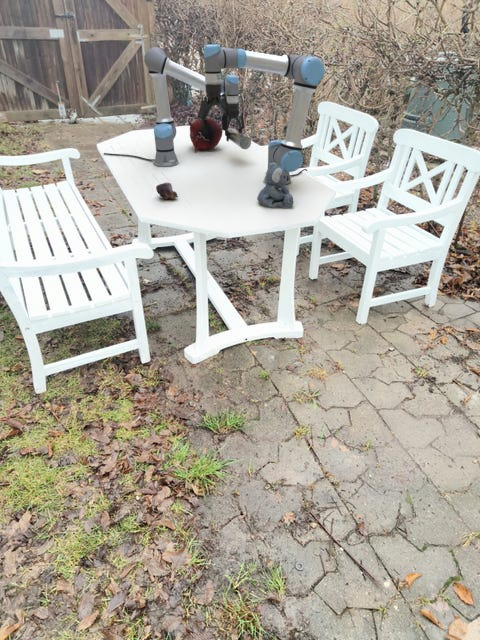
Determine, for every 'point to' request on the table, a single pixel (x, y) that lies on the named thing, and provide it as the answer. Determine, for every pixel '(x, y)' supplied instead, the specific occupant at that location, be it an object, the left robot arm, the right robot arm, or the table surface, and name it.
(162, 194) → the rock
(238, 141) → the rod
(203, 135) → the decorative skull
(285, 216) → the table surface
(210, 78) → the right robot arm
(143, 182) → the table surface
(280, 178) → the koala plush
